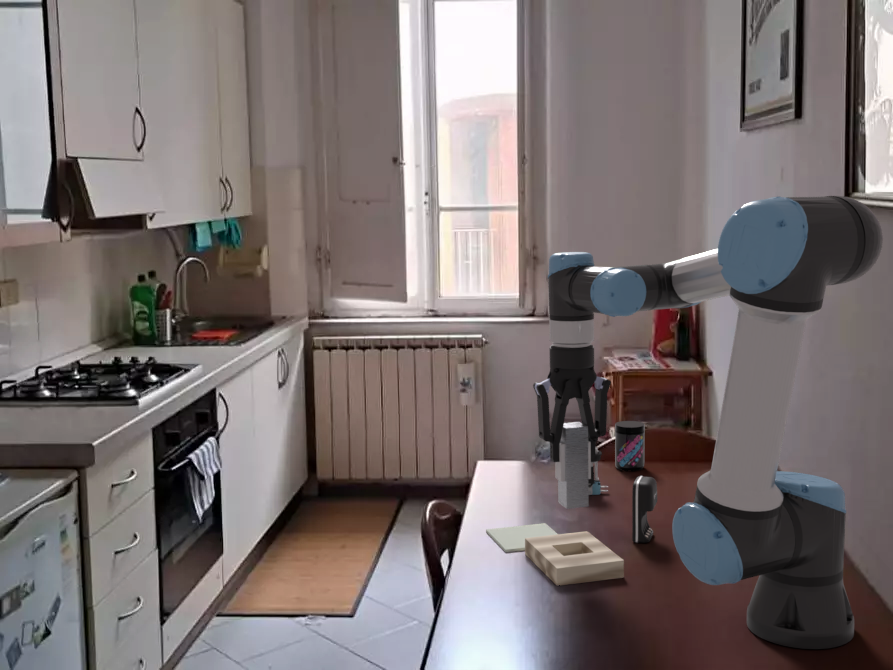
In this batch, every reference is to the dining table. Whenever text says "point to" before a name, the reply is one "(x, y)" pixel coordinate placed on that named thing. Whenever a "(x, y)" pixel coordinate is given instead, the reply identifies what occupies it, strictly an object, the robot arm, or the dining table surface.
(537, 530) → the pad
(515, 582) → the dining table surface
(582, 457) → the peg
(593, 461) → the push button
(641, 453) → the supplement container
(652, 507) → the key lock box
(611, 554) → the socket block
